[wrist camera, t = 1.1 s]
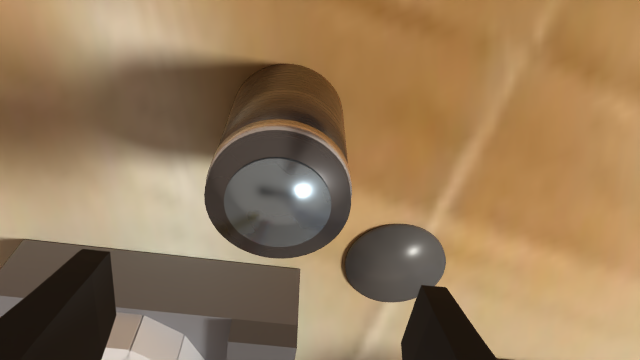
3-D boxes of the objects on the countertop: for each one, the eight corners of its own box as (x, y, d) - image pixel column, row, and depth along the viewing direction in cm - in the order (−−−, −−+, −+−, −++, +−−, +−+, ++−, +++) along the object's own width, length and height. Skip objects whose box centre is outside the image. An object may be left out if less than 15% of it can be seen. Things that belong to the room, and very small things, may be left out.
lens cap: (455, 225, 24) (458, 233, 23) (428, 298, 26) (430, 307, 26) (354, 213, 23) (355, 221, 23) (337, 288, 26) (337, 297, 25)
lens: (353, 71, 19) (366, 150, 14) (334, 171, 22) (339, 269, 16) (235, 54, 19) (203, 128, 14) (228, 157, 21) (200, 254, 16)
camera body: (300, 269, 25) (295, 360, 20) (282, 373, 29) (276, 467, 24) (23, 239, 24) (-46, 328, 19) (47, 351, 28) (-5, 445, 23)
